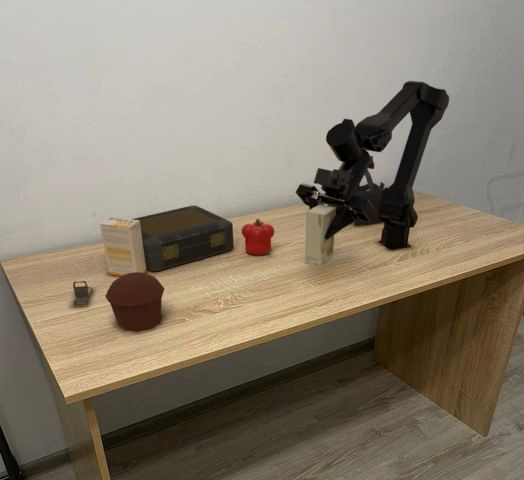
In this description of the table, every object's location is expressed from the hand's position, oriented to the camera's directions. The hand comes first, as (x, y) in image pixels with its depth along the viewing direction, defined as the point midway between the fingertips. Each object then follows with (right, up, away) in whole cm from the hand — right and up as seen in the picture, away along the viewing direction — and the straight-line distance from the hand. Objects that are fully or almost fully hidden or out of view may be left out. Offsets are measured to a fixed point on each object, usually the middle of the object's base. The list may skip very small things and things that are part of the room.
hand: (316, 235), depth 117 cm
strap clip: (-52, -14, +2) cm, 54 cm away
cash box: (-35, +2, +26) cm, 44 cm away
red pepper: (-13, +1, +24) cm, 28 cm away
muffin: (-37, -19, -6) cm, 43 cm away
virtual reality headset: (+18, +18, +50) cm, 56 cm away
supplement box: (-45, -6, +14) cm, 47 cm away
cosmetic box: (+1, -5, +5) cm, 7 cm away
